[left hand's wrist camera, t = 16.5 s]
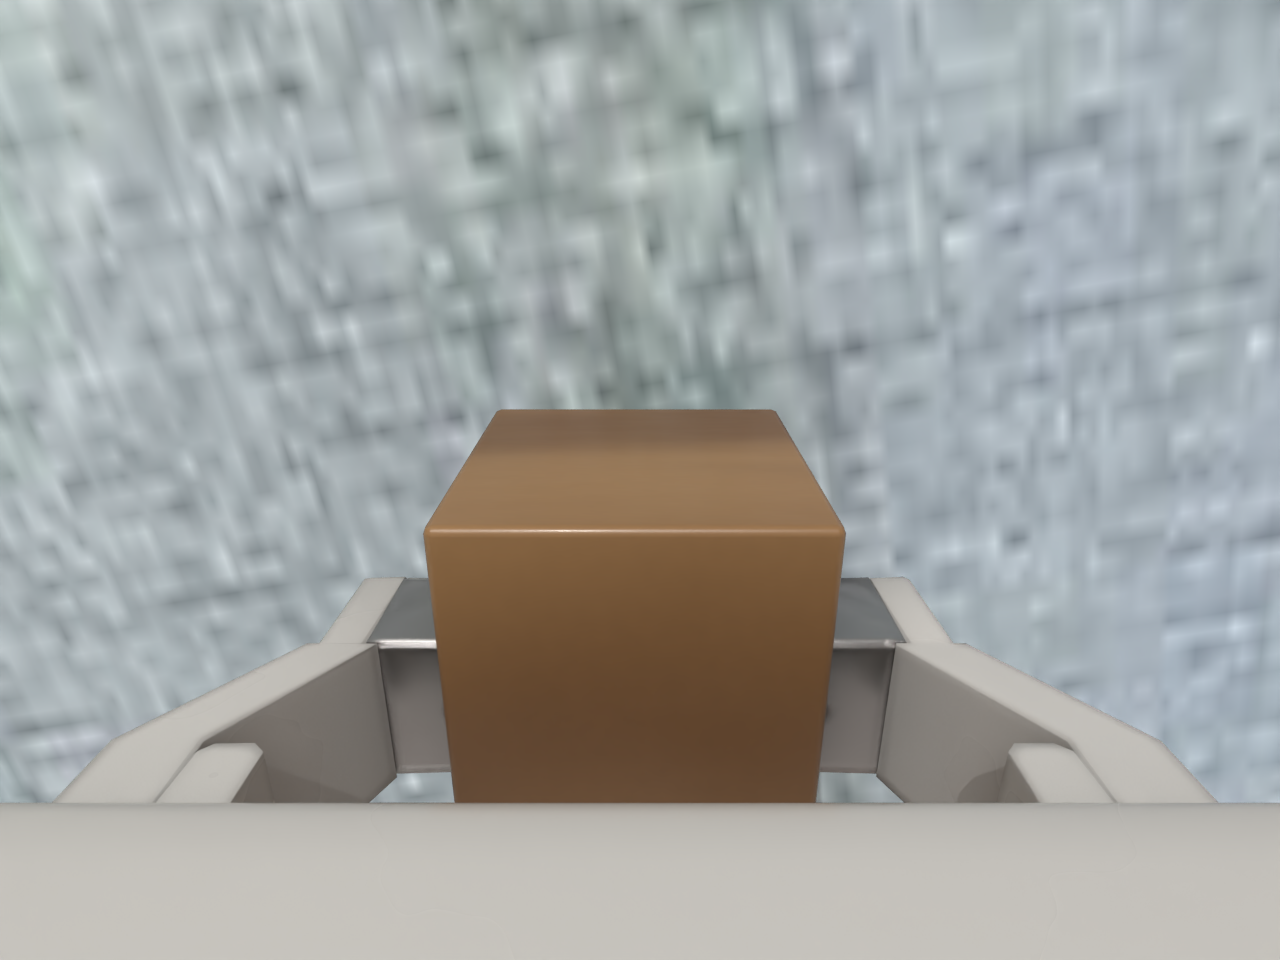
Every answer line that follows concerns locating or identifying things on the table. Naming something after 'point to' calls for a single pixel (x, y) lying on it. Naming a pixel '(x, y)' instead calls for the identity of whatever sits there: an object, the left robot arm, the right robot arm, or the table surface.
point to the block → (635, 609)
